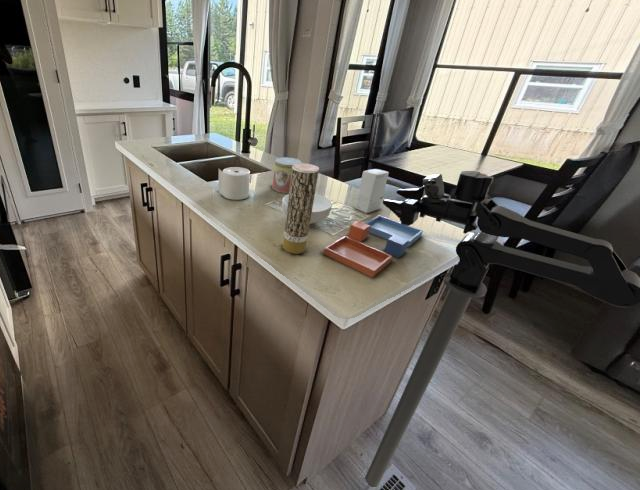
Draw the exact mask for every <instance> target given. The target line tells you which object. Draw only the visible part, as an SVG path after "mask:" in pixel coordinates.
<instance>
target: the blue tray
mask: <svg viewBox="0 0 640 490" xmlns="http://www.w3.org/2000/svg"><path fill="white" fill-rule="evenodd" d="M365 224H367V225H370V229H369V232H368V234H369V233H370V234H372V235H375V236H378V237H380V238H383V239H385V240H387V241H388V239H389V238H390V237H392V236H393V235H397V236H399V237H402V238H404V239H407V240H409V241H408V244H407V247H406V248H409V247H410V246H411V245H413V244H414V243H415V242H416V241H417V240H418V239H420V238H421V237H422V235H423V232H424V230H423V229H419V228H416V227H414V226H411V225H409V226H407V225H403V224H401V221H397V220H394V219H391V218H388V217H385V216H383V215H380V214H378V215H375V217H372V218H371V219H370V220H368V221H366V222H365Z"/></svg>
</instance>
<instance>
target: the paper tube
mask: <svg viewBox="0 0 640 490" xmlns="http://www.w3.org/2000/svg"><path fill="white" fill-rule="evenodd" d="M319 169H320V167H318V166H317V165H315V164H312V163H306V162H305V163H304V162H302V163H297V164H294V165H293V167H292V175H291V183H290V191H289V193H288V194H289V199H288V207H287V215H286V214H285V216H286V217H285V223H284V230H283V231H284V232H283V241H282V248H283V250H284V251H285V252H287V253H289V254H292V255H300V254H302V253H304V252H305V251H306V249H307V243H308V239H309V231H310V225H311V224H310V220H311V214H312V208H313V202H314V196H315V194H316V188H317V183H318V178H319V177H318V176H319Z"/></svg>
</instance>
